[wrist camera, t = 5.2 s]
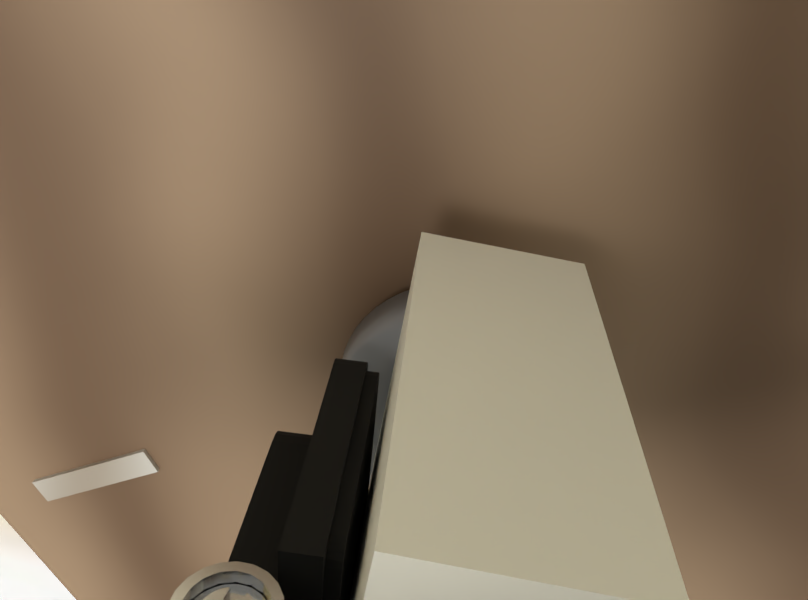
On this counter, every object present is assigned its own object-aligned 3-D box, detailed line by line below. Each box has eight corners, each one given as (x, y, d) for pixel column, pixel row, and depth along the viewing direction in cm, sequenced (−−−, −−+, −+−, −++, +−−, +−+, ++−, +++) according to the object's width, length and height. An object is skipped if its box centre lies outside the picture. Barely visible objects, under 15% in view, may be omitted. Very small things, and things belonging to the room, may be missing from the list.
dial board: (1146, -889, 7) (1308, -1077, 6) (1068, 586, 17) (1121, 647, 16) (-354, -1, 13) (-453, 11, 12) (240, 719, 23) (225, 772, 21)
